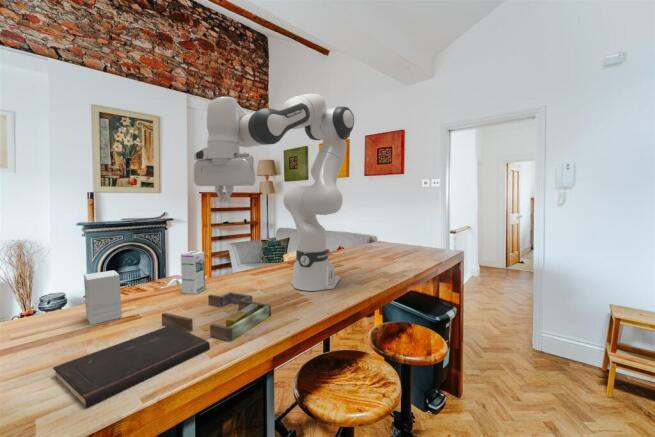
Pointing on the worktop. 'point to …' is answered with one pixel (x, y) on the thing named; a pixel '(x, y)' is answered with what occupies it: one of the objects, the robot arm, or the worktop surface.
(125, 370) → the hardcover book
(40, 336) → the worktop surface
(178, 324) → the trap corral
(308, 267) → the robot arm
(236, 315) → the medication box
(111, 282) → the supplement box
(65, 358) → the worktop surface
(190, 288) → the syrup box
